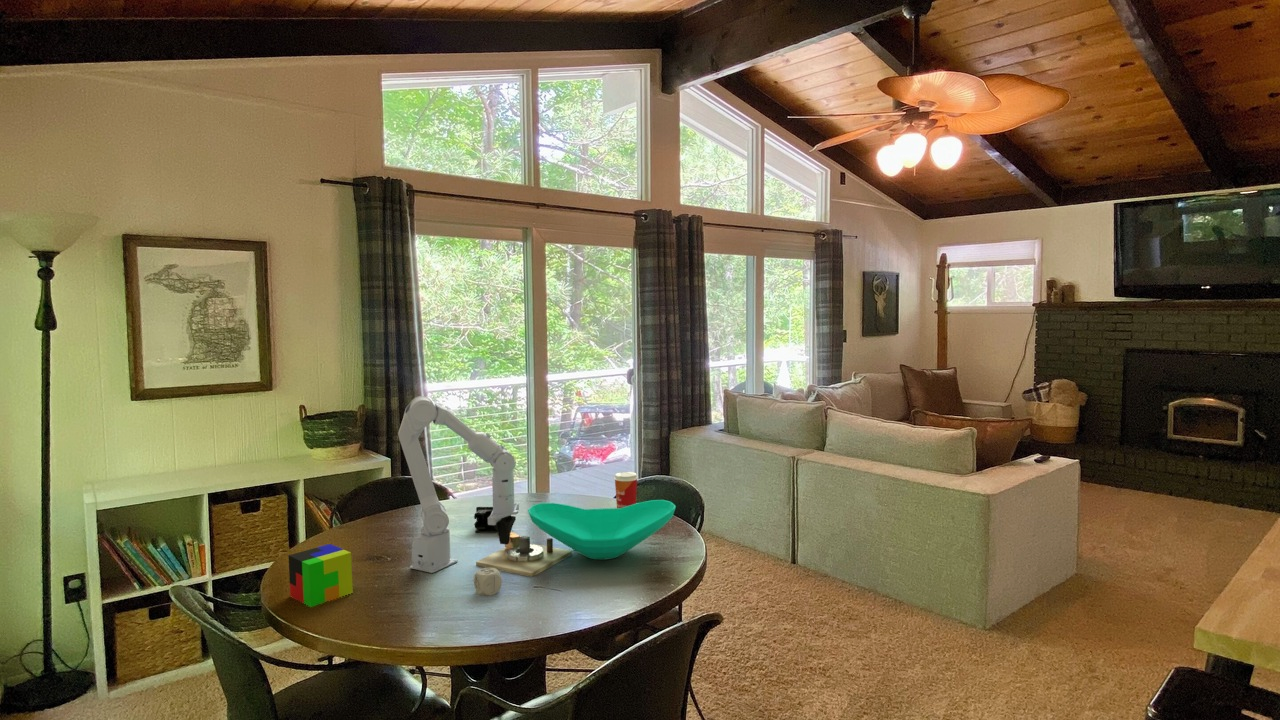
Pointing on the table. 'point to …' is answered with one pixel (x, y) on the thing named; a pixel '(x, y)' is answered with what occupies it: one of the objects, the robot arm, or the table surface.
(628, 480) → the paper cup
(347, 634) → the table surface
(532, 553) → the flange
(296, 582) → the puzzle toy
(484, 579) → the die
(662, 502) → the table top decor
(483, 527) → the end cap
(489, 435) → the robot arm
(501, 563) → the board
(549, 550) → the dowel
